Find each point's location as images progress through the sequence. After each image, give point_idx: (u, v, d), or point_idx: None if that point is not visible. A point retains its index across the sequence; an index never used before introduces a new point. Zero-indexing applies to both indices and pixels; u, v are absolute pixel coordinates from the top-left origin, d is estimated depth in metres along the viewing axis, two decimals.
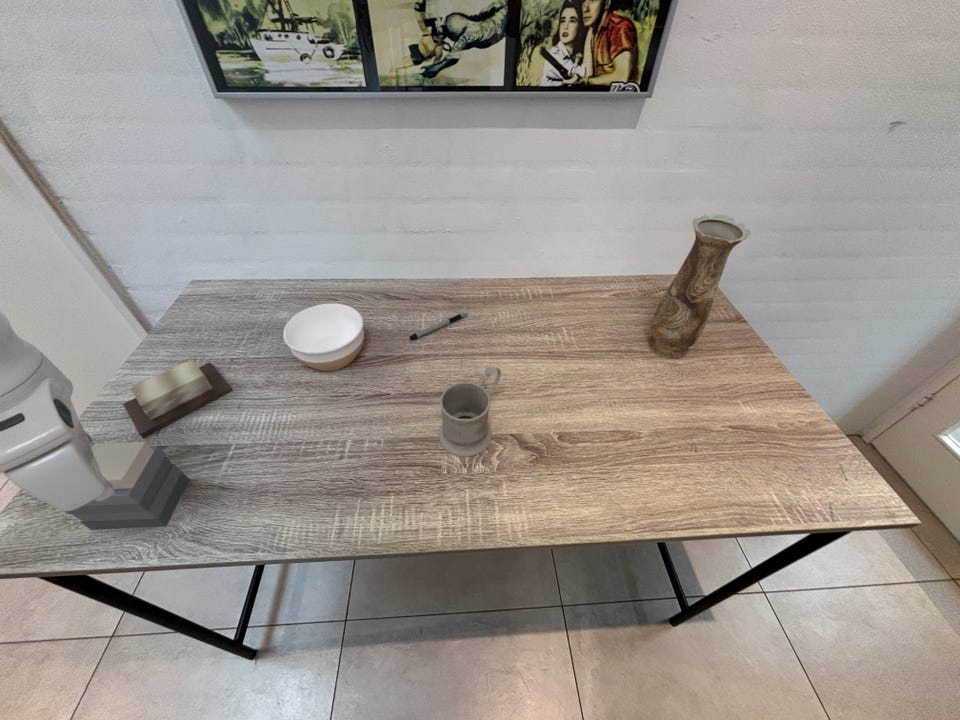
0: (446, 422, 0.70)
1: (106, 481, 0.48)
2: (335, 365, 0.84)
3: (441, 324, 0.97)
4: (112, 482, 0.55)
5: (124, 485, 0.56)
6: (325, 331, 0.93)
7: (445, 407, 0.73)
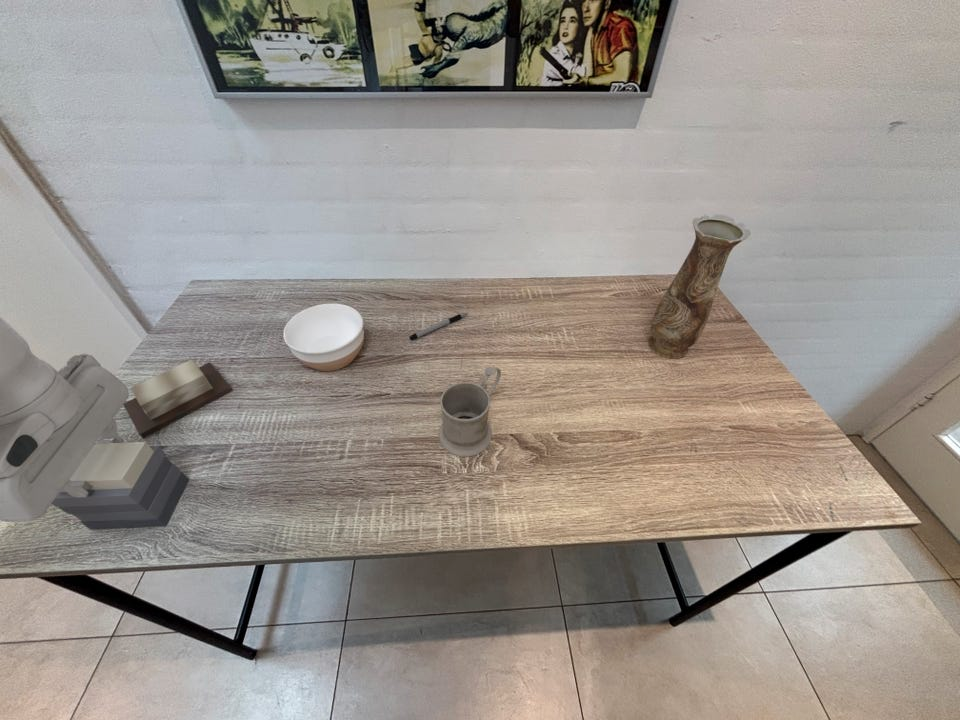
0: (446, 422, 0.70)
1: (84, 485, 0.54)
2: (335, 365, 0.84)
3: (441, 324, 0.97)
4: (112, 482, 0.55)
5: (124, 485, 0.56)
6: (325, 331, 0.93)
7: (445, 407, 0.73)
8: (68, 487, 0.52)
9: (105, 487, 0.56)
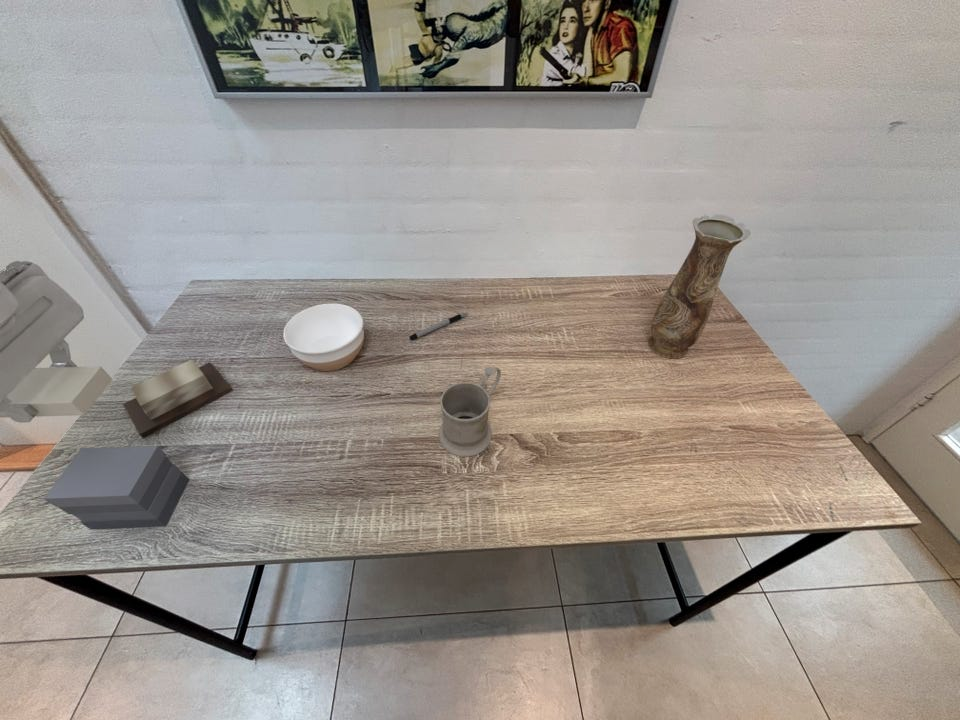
0: (446, 422, 0.70)
1: (27, 408, 0.48)
2: (335, 365, 0.84)
3: (441, 324, 0.97)
4: (60, 406, 0.48)
5: (75, 410, 0.49)
6: (325, 331, 0.93)
7: (445, 407, 0.73)
8: (6, 406, 0.45)
9: (53, 413, 0.49)
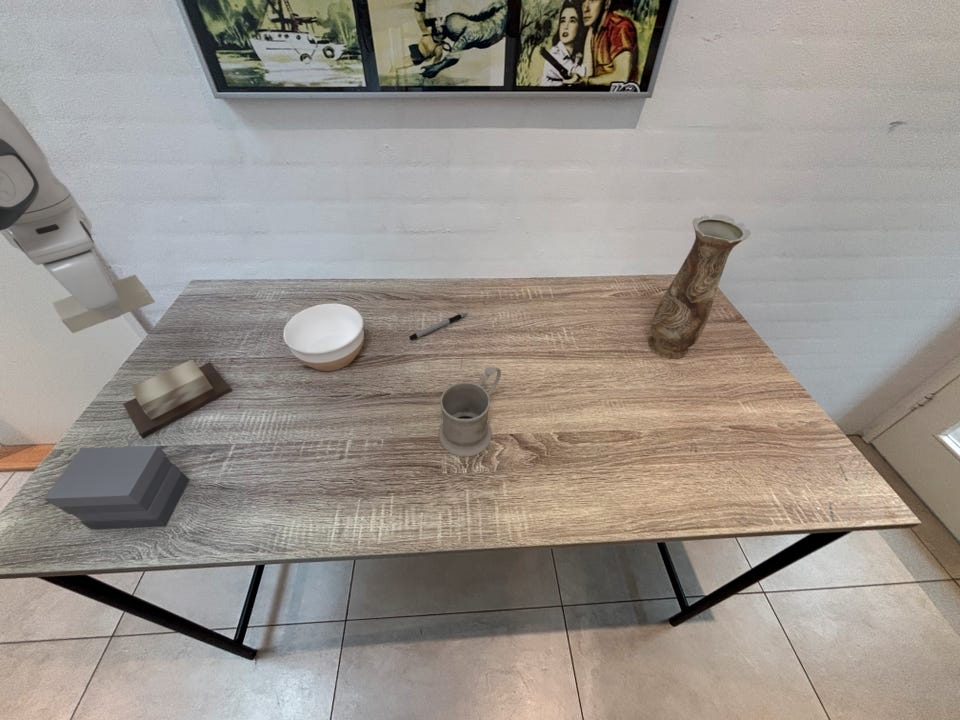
0: (446, 422, 0.70)
1: None
2: (335, 365, 0.84)
3: (441, 324, 0.97)
4: (138, 297, 0.64)
5: (149, 298, 0.65)
6: (325, 331, 0.93)
7: (445, 407, 0.73)
8: None
9: (130, 307, 0.64)
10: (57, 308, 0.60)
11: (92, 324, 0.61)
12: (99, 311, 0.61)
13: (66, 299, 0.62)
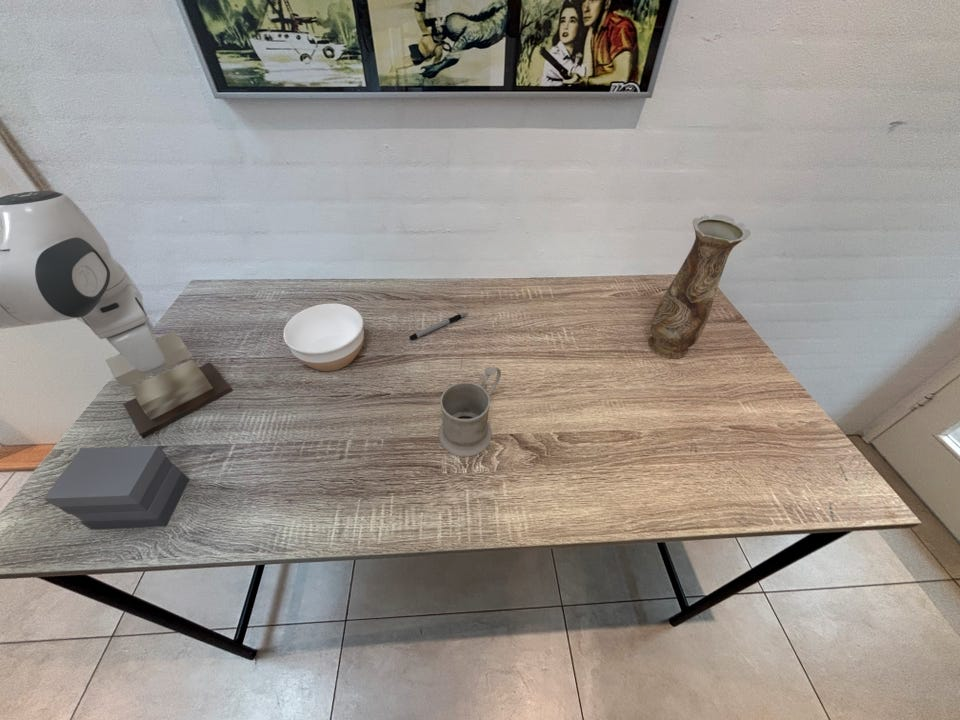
0: (446, 422, 0.70)
1: None
2: (335, 365, 0.84)
3: (441, 324, 0.97)
4: (178, 353, 0.73)
5: (187, 353, 0.74)
6: (325, 331, 0.93)
7: (445, 407, 0.73)
8: None
9: (172, 362, 0.73)
10: (109, 365, 0.69)
11: (140, 379, 0.70)
12: None
13: (116, 356, 0.71)
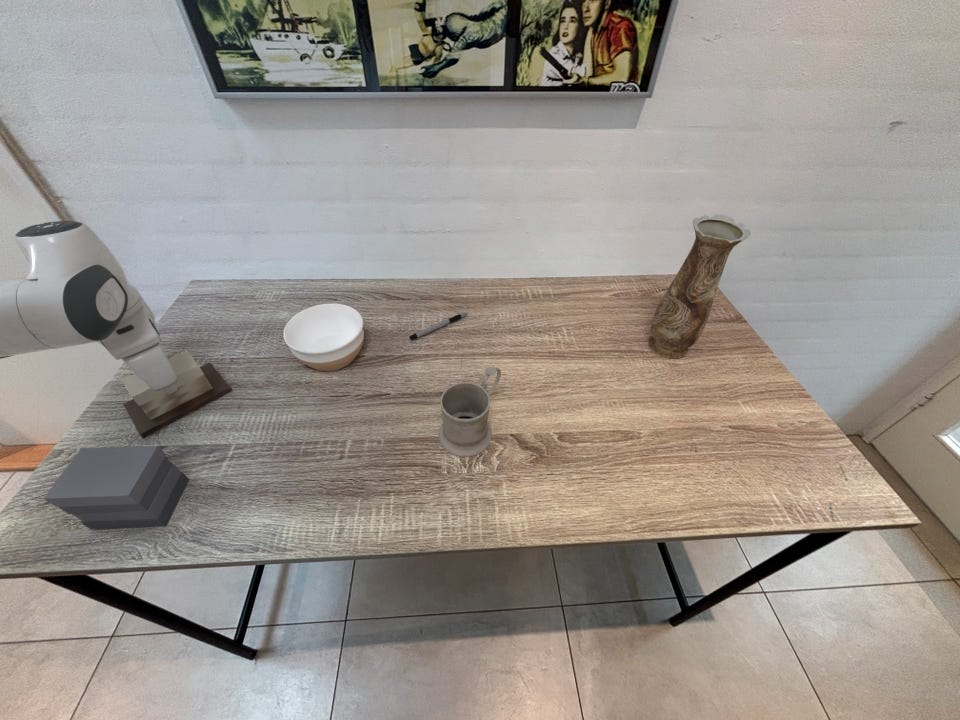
0: (446, 422, 0.70)
1: None
2: (335, 365, 0.84)
3: (441, 324, 0.97)
4: (191, 372, 0.76)
5: (199, 372, 0.77)
6: (325, 331, 0.93)
7: (445, 407, 0.73)
8: None
9: (185, 381, 0.76)
10: (126, 385, 0.72)
11: (154, 397, 0.73)
12: None
13: (132, 376, 0.74)
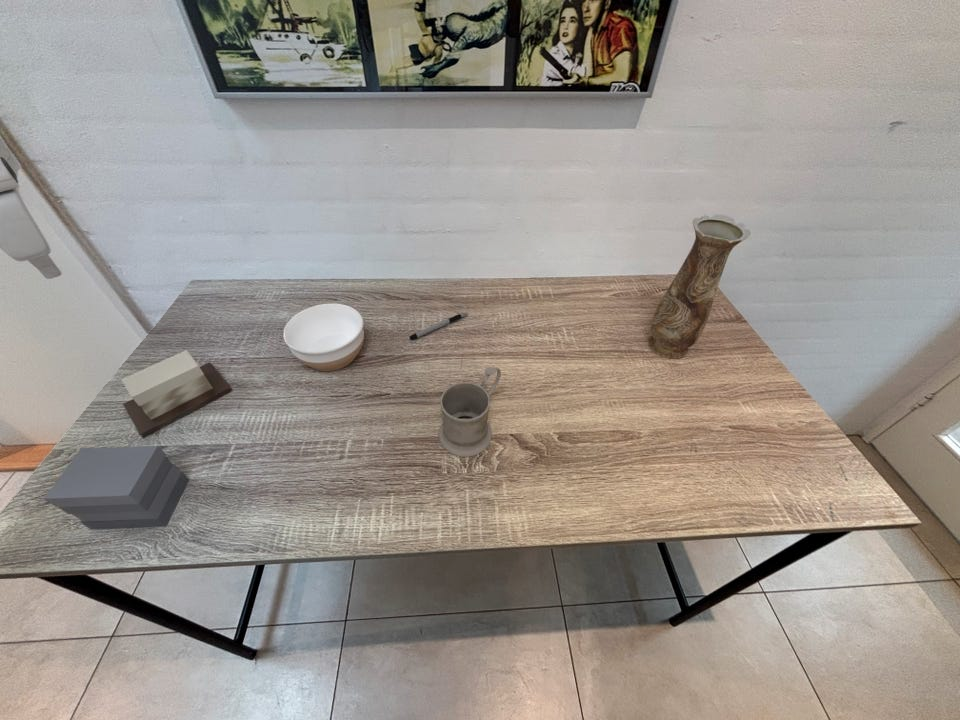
0: (446, 422, 0.70)
1: (53, 262, 0.55)
2: (335, 365, 0.84)
3: (441, 324, 0.97)
4: (191, 372, 0.76)
5: (199, 372, 0.77)
6: (325, 331, 0.93)
7: (445, 407, 0.73)
8: None
9: (185, 381, 0.76)
10: (126, 385, 0.72)
11: (154, 397, 0.73)
12: (160, 387, 0.73)
13: (132, 376, 0.74)
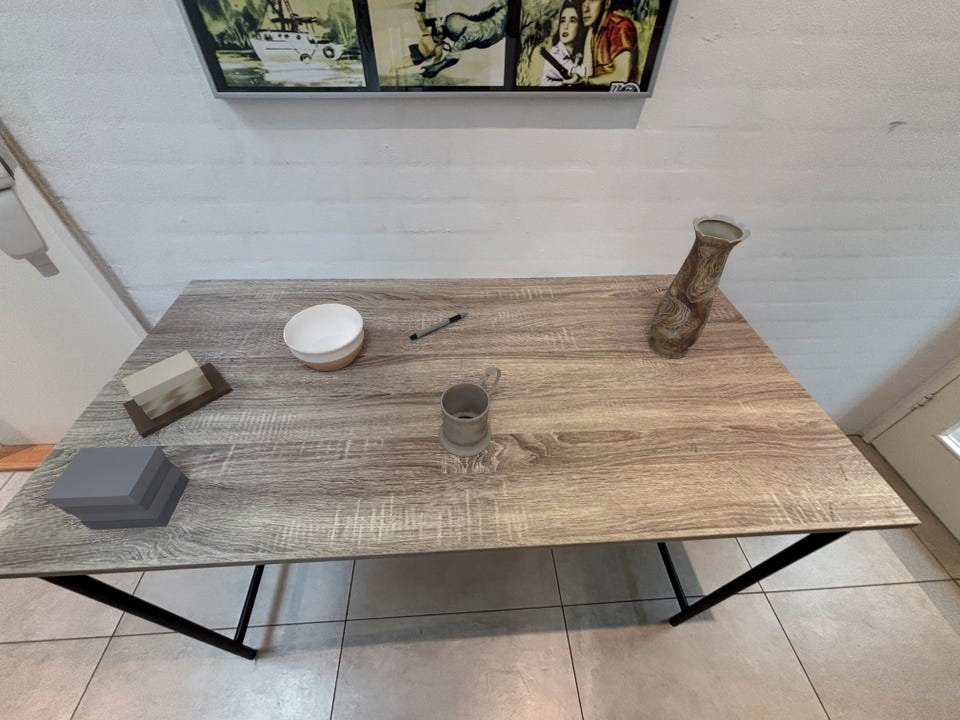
0: (446, 422, 0.70)
1: (51, 260, 0.55)
2: (335, 365, 0.84)
3: (441, 324, 0.97)
4: (191, 372, 0.76)
5: (199, 372, 0.77)
6: (325, 331, 0.93)
7: (445, 407, 0.73)
8: None
9: (185, 381, 0.76)
10: (126, 385, 0.72)
11: (154, 397, 0.73)
12: (160, 387, 0.73)
13: (132, 376, 0.74)
